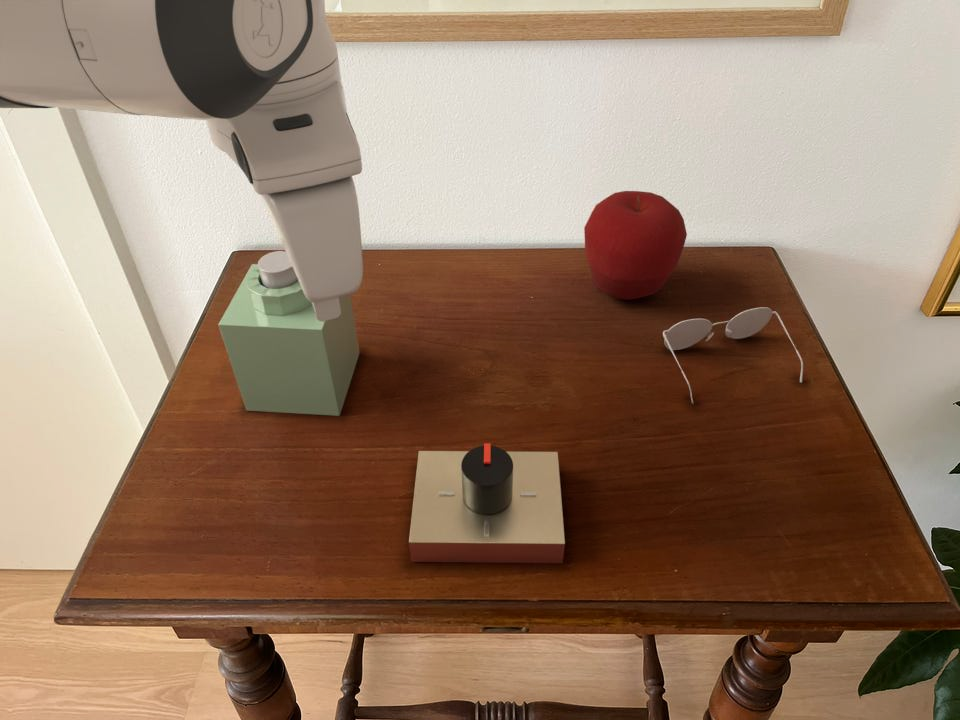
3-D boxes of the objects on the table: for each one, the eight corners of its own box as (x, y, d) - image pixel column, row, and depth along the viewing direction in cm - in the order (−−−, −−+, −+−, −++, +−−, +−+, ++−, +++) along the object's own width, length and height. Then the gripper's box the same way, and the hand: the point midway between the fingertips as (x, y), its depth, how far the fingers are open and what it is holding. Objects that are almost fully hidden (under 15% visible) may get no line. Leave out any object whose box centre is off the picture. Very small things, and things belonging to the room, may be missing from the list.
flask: (339, 416, 75) (318, 310, 66) (246, 410, 76) (211, 305, 67) (359, 352, 83) (343, 248, 73) (274, 348, 83) (246, 245, 74)
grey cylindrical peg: (294, 290, 69) (290, 272, 67) (257, 289, 69) (252, 271, 68) (304, 268, 71) (300, 251, 70) (268, 267, 72) (264, 249, 70)
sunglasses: (765, 333, 84) (780, 303, 80) (801, 389, 79) (819, 361, 75) (654, 353, 82) (664, 323, 78) (684, 412, 77) (696, 384, 73)
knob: (512, 514, 62) (513, 483, 59) (461, 514, 62) (460, 483, 59) (512, 474, 65) (512, 442, 63) (463, 474, 66) (462, 442, 63)
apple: (611, 331, 85) (625, 233, 76) (560, 278, 93) (568, 184, 84) (693, 303, 89) (716, 207, 80) (638, 255, 97) (653, 162, 88)
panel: (562, 563, 62) (565, 542, 60) (411, 562, 62) (408, 541, 60) (555, 472, 69) (557, 450, 67) (420, 470, 70) (418, 449, 68)
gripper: (201, 59, 53) (244, 224, 62) (257, 183, 39) (302, 372, 48) (286, 46, 55) (316, 208, 64) (369, 160, 41) (392, 345, 50)
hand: (311, 279), depth 56 cm, fingers open, 8 cm apart
